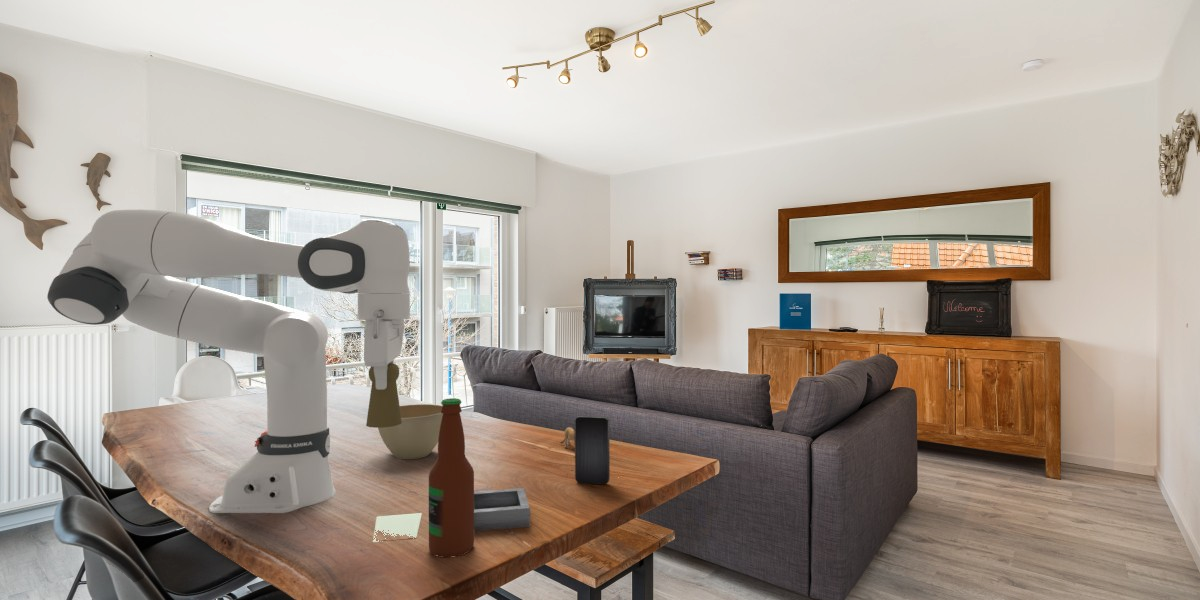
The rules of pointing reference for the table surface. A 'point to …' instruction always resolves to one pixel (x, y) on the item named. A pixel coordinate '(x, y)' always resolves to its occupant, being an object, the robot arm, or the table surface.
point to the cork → (384, 401)
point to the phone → (592, 450)
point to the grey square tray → (501, 509)
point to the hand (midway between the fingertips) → (384, 386)
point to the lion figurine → (571, 434)
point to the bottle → (451, 488)
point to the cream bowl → (414, 431)
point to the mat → (398, 524)
